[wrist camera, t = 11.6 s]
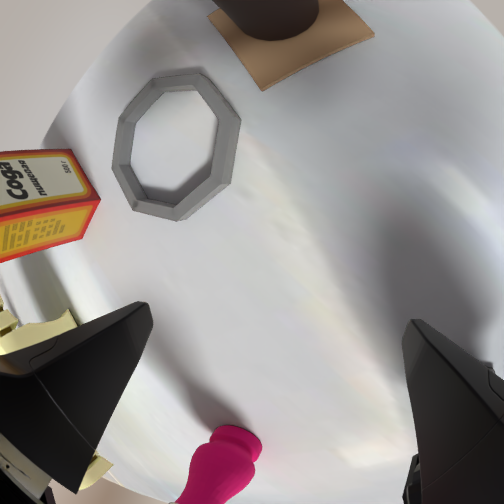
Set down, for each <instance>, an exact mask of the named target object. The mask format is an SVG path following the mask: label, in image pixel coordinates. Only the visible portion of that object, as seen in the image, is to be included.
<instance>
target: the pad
mask: <svg viewBox="0 0 504 504" xmlns="http://www.w3.org/2000/svg"><path fill="white" fill-rule="evenodd" d="M318 2H319V14H318V16H317V18H316V21H315V22H314V23H313V24H312V25H311V26H310V27H309V28H308V30H306V31H304V32H302V33H301V34H299V35H297V36H295V37H292V38H288V39H285V40H277V41H265V40H259V39H255V38H253V37H251V36H249V35H247V34H245V33H244V32H243V31H242V30H241V29H240V28H239V27H238V26H237V25H236V24H235V23H234V22H233V21H232V20H231V19H230V18H229V17H228V16H227V14H226V13H225V12H224V11H223V10H222V9H221V8H219V9H218V10H216V11H214V12H213V13H211V14H210V15H208V16H207V17H208V18H209V20H210V21H211V22H212V23H213V25H214V26H215V27H216V28H217V30H218V31H219V32H220V34H221V35H222V36H223V37H224V39H225V40H226V41H227V43H228V44H229V45H230V47H231V48H232V50H233V51H234V52H235V54H236V55H237V56H238V58H239V59H240V61H241V62H242V63H243V65H244V66H245V68H246V69H247V71H248V72H249V74H250V75H251V76H252V78H253V79H254V81H255V82H256V84H257V85H258V87H259V88H260V90H261V91H264V90H266V89H267V88H269V87H271V86H272V85H274V84H276V83H278V82H279V81H281V80H283V79H285V78H286V77H288V76H290V75H292V74H294V73H296V72H298V71H299V70H301V69H303V68H305V67H307V66H309V65H311V64H313V63H315V62H317V61H319V60H321V59H323V58H325V57H327V56H329V55H332V54H334V53H336V52H338V51H340V50H343V49H345V48H347V47H349V46H352V45H354V44H357V43H359V42H361V41H364V40H366V39H369V38H372V37H374V34H375V33H374V32H373V31H372V30H371V29H370V28H369V27H368V26H367V24H366V23H365V22H364V21H363V20H362V19H361V18H360V17H359V16H358V15H357V14H356V13H355V12H354V11H353V10H352V9H351V8H350V7H349V6H348V5H347V4H346V3H345V2H344V1H343V0H318Z"/></svg>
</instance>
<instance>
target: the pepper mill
mask: <svg viewBox="0 0 504 504" xmlns="http://www.w3.org/2000/svg"><path fill="white" fill-rule="evenodd" d="M261 451H262V444H261V443H260V441H259V439H258V438H257V437H256V436H254V435H253V434H252V433H250V432H248V431H246V430H245V429H242V428H239V427H236V426H231V425H224V426H220V427H218V428H217V429H216V430H215V431H214V433H213V434H212V435H211V437H210V440H209V443H205V444H202V445H200V446H199V447H198V448H197V449H196V451H195V453H194V454H193V456H192V459H191V462H190V468H189V476H188V481H187V484H186V487H185V489H184V491H183V492H182V494H181V496H180V497H179V498H178V499H177V500H176V501H175V502H170V503H169V504H224V503H225V502H226V501H227V500H229V499H230V498H232V497H233V496H234V495H236V494H237V493H239V492H240V491H241V490H243V489H244V488H245V487H246V486H247V485H248V484H249V483H250V481H251V480H252V478H253V476H254V474H255V467H254V464H253V462H255V461H256V460H257V459H258V457H259V455H260V453H261Z"/></svg>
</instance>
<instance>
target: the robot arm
mask: <svg viewBox="0 0 504 504" xmlns="http://www.w3.org/2000/svg"><path fill="white" fill-rule="evenodd" d="M152 328H153V319H152V315H151V311H150V307H149V305H148V303H146V302H140V301H137V302H134V303H132V304H130V305H127V306H125V307H123V308H120V309H118V310H116V311H113V312H111V313H109V314H106V315H104V316H101V317H99V318H97V319H94V320H92V321H90V322H87V323H85V324H83V325H80V326H78V327H76V328H73V329H71V330H68V331H66V332H64V333H61V334H60V335H57V336H54V337H52V338H49V339H47V340H44V341H42V342H39V343H37V344H34V345H31V346H28V347H25V348H22V349H19V350H16V351H13V352H10V353H8V354H4V355H0V504H56V503H55V500H54V496H53V493H52V489H51V488H50V487H49V486H48V485H49V483H50V481H51V479H52V478H53V479H54V480H55V481H57V482H58V483H60V484H61V485H63V486H64V487H65V488H67V489H68V490H70V491H71V492H73V493H75V494H77V492H78V490H79V488H80V485H81V483H82V481H83V478H84V476H85V473H86V471H87V469H88V466H89V464H90V462H91V460H92V457H93V455H94V453H95V450H96V448H97V446H98V444H99V442H100V439H101V437H102V435H103V433H104V431H105V429H106V426H107V424H108V422H109V420H110V418H111V416H112V414H113V412H114V410H115V408H116V406H117V404H118V402H119V400H120V398H121V396H122V394H123V392H124V390H125V388H126V386H127V384H128V382H129V380H130V378H131V376H132V374H133V372H134V370H135V368H136V366H137V364H138V362H139V360H140V358H141V355H142V353H143V350H144V348H145V345H146V343H147V340H148V338H149V335H150V333H151V330H152ZM402 349H403V356H404V364H405V373H406V381H407V387H408V392H409V397H410V402H411V407H412V412H413V418H414V424H415V431H416V437H417V445H418V454H416V455H414V456H413V457H412V461H411V466H410V470H409V474H408V477H407V481H406V485H405V488H404V493H403V496H402V498H403V501H404V504H504V380H503V379H501V378H500V377H499V376H497V375H496V374H495V371H494V369H493V368H489V367H486V366H484V365H483V364H482V363H480V362H479V361H478V360H476V359H475V358H474V357H472V356H471V355H470V354H468V353H467V352H466V351H464V350H463V349H462V348H460V347H459V346H458V345H456V344H455V343H453V342H452V341H451V340H449V339H448V338H447V337H445V336H444V335H442V334H441V333H440V332H438V331H437V330H435V329H434V328H433V327H431V326H430V325H428V324H427V323H425V322H424V321H423V320H421V319H411V320H409V322H408V324H407V327H406V330H405V333H404V336H403V339H402Z"/></svg>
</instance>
